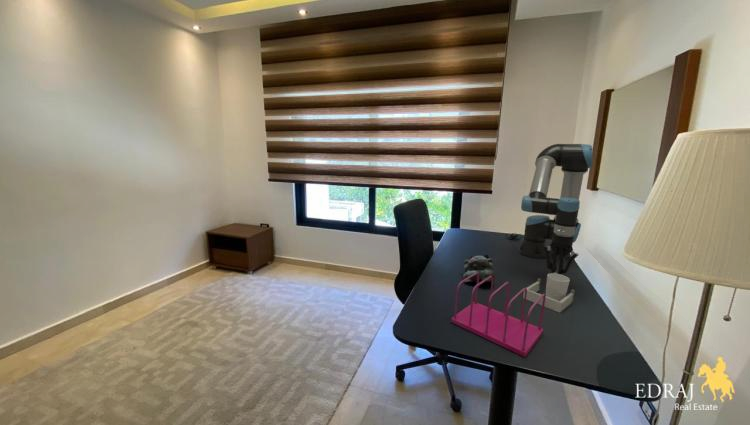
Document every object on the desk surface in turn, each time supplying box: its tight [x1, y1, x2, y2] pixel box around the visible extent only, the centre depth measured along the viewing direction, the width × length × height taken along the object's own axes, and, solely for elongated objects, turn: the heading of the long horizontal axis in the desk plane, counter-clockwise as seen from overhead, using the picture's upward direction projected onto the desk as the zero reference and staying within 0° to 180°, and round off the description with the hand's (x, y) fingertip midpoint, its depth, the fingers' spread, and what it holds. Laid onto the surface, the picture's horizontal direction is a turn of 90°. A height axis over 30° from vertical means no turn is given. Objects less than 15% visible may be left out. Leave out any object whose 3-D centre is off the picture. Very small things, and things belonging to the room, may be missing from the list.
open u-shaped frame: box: [522, 278, 576, 313], centre depth 122 cm, size 14×14×5 cm
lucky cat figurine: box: [462, 254, 496, 283], centre depth 138 cm, size 15×12×14 cm
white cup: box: [545, 273, 571, 301], centre depth 122 cm, size 8×8×10 cm
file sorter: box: [450, 273, 546, 358], centre depth 101 cm, size 17×25×16 cm
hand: (554, 285), depth 130 cm, fingers closed
